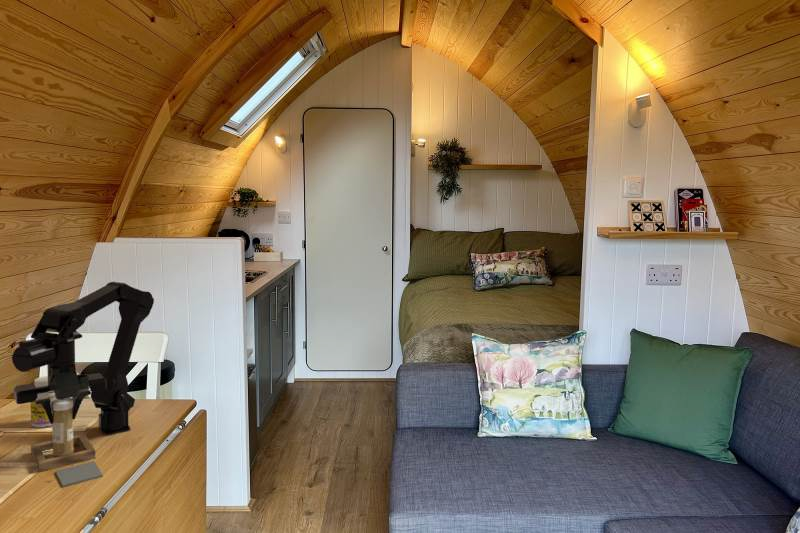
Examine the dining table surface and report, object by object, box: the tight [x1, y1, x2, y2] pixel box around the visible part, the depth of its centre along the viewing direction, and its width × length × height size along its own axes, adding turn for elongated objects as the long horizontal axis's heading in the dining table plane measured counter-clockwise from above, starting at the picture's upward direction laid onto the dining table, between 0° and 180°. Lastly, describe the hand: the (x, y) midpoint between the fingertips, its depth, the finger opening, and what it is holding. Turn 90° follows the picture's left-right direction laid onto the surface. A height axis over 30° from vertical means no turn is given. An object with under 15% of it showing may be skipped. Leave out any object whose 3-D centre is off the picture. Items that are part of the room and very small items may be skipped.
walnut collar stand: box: [30, 433, 96, 473], centre depth 134 cm, size 12×12×2 cm
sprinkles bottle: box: [51, 397, 75, 457], centre depth 133 cm, size 5×5×13 cm
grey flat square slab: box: [55, 460, 104, 488], centre depth 126 cm, size 8×8×1 cm
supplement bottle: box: [30, 375, 56, 428], centre depth 150 cm, size 7×7×13 cm
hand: (62, 421), depth 133 cm, fingers closed on sprinkles bottle, 4 cm apart
